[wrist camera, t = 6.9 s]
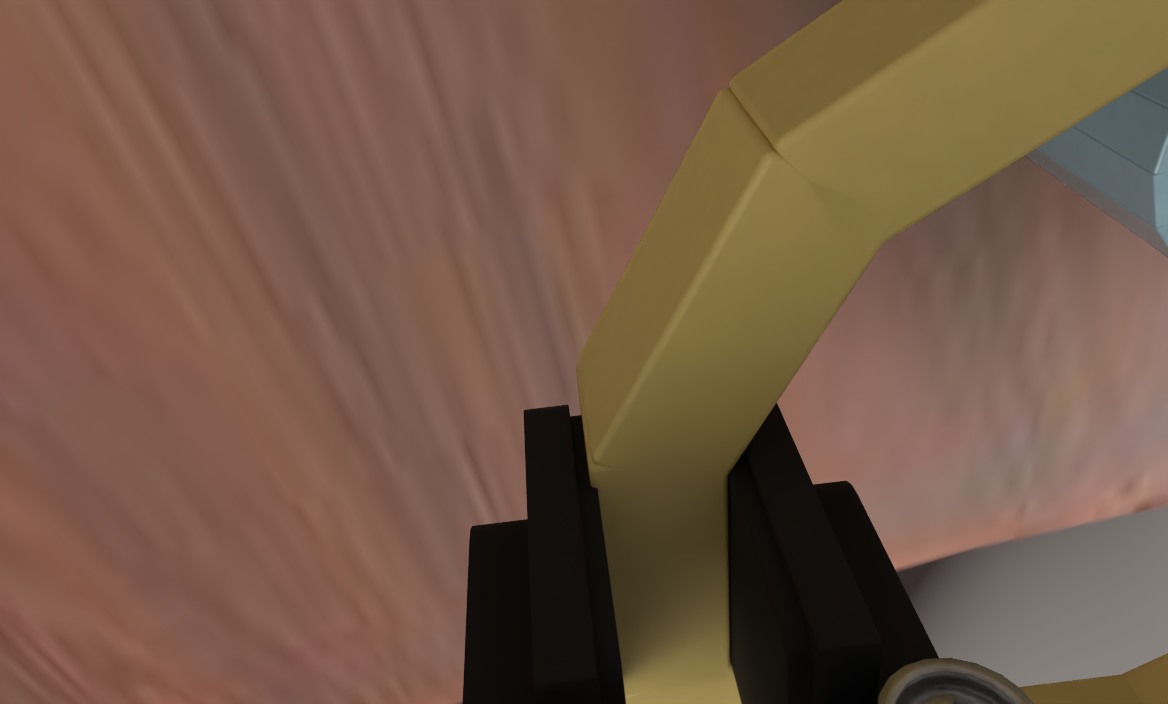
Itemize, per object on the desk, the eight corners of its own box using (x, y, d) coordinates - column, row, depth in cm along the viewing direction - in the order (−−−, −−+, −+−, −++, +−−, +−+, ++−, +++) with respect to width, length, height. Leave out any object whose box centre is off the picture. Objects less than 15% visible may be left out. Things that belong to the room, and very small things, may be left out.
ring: (623, 787, 15) (639, 914, 14) (522, -95, 8) (529, -62, 7) (1411, 689, 15) (1523, 802, 14) (1952, -252, 9) (2315, -260, 7)
